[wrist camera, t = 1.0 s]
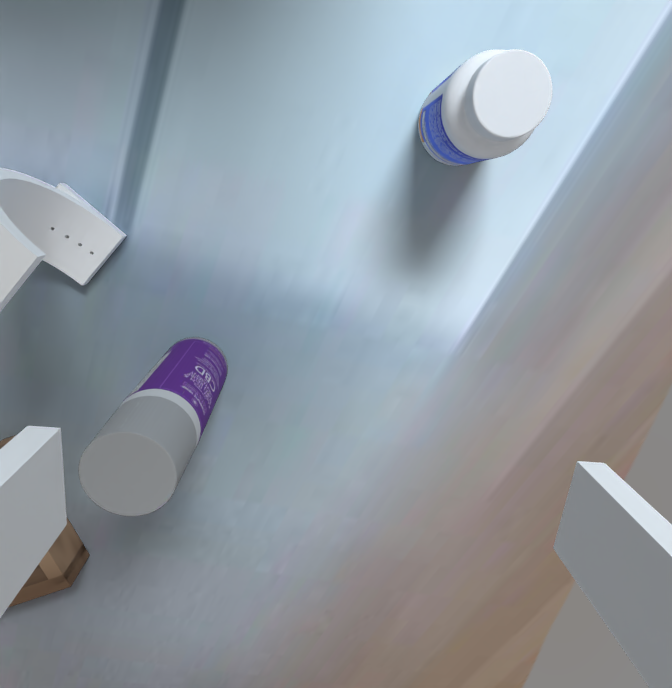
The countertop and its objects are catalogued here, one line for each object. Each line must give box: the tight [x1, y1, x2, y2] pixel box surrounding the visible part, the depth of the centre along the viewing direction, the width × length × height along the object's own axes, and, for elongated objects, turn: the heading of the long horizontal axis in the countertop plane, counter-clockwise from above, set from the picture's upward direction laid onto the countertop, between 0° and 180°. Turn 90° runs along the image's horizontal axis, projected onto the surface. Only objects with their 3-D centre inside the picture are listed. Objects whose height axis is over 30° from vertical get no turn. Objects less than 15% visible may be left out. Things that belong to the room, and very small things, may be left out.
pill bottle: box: [418, 49, 552, 166], centre depth 29 cm, size 5×5×10 cm
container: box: [79, 337, 228, 516], centre depth 30 cm, size 5×5×15 cm
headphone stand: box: [0, 168, 127, 312], centre depth 28 cm, size 5×6×12 cm
